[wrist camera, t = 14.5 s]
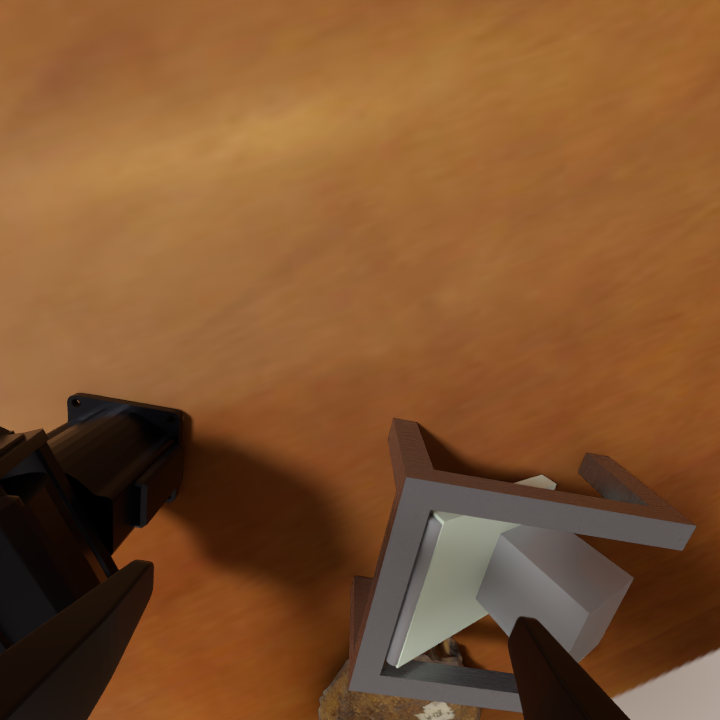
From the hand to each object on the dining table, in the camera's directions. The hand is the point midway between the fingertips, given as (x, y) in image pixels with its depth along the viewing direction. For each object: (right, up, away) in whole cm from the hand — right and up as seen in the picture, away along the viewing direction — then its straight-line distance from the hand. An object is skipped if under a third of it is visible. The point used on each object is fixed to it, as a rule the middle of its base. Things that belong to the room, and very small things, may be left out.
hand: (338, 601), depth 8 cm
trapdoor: (+7, -6, +13) cm, 16 cm away
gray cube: (+10, -7, +14) cm, 18 cm away
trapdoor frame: (+8, -6, +15) cm, 18 cm away
